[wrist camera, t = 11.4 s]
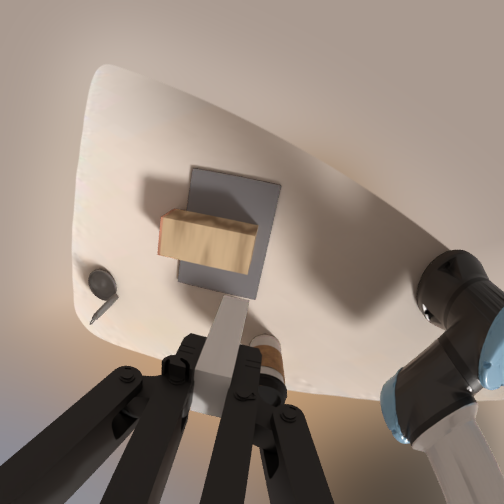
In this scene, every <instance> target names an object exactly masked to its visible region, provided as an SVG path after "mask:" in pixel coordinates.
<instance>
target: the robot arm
mask: <svg viewBox="0 0 504 504" xmlns="http://www.w3.org/2000/svg"><path fill="white" fill-rule="evenodd" d="M417 302H418V306H419V309H420V311H421V312H422V314H423V315H424V316H425V318H426V319H427V320H428V321H429V322H430V323H432V324H433V325H435V326H437V327H439V328H441V329H443V330H445V332H444V333H443V334H442V335H441V336H440V337H439V338H438V339H437V340H435V341H434V342H433V343H432V344H431V345H430V346H429V347H427V348H426V349H425V350H424V351H423V352H422V353H420V354H419V355H418V356H417V357H416V358H414V359H413V360H412V361H411V362H409V363H408V364H407V365H406V366H405V367H402V368H401V369H399V370H398V371H397V373H396V374H395V375H394V376H393V377H392V378H390V379H389V380H388V381H387V382H386V383H385V384H384V385H383V388H382V391H381V395H380V403H381V409H382V413H383V416H384V419H385V422H386V424H387V426H388V428H389V430H392V434H393V436H394V437H395V438H396V439H397V440H398V441H399V442H401V443H404V444H406V443H411V446H412V448H413V449H415V450H419V451H423V452H425V453H426V454H427V456H428V459H429V461H430V463H431V465H432V468H433V470H434V472H435V475H436V477H437V479H438V482H439V484H440V486H441V489H442V491H443V493H444V496H445V499H446V501H447V504H504V476H503V474H502V471H501V469H500V468H499V465H498V463H497V461H496V459H495V457H494V455H493V453H492V451H491V449H490V447H489V445H488V443H487V441H486V439H485V437H484V436H483V434H482V432H481V430H480V428H479V426H478V424H477V423H476V420H475V419H476V414H477V410H478V404H477V402H476V400H475V398H474V395H475V394H476V393H477V392H479V391H480V390H481V389H482V388H483V387H484V388H487V389H489V390H495V389H498V388H499V387H500V386H504V292H503V291H502V290H501V289H499V288H498V287H497V286H496V285H494V284H493V283H492V282H491V281H490V280H489V278H488V276H487V274H486V272H485V270H484V268H483V266H482V264H481V263H480V261H479V260H478V259H477V258H476V257H474V256H473V255H472V254H470V253H469V252H466V251H464V250H451V251H448V252H446V253H443V254H442V255H440V256H439V257H437V258H436V259H435V260H434V261H433V262H432V263H431V264H430V265H429V266H428V267H427V269H426V270H425V272H424V274H423V275H422V277H421V280H420V282H419V286H418V291H417ZM248 305H249V300H245V299H240V298H236V297H231V296H227V295H224V296H223V299H222V301H221V304H220V306H219V309H218V311H217V314H216V316H215V319H214V322H213V324H212V327H211V329H210V332H209V334H208V337H204V336H200V335H196V334H192V333H190V334H189V335H187V336H186V337H185V338H184V339H183V341H182V343H181V346H180V347H179V349H178V351H177V353H176V355H170V356H167V357H165V358H164V359H163V360H162V375H158V376H142V374H141V372H140V371H139V370H138V369H136V368H134V367H131V366H122V367H119V368H117V369H115V370H114V371H113V372H112V373H110V374H109V375H108V376H107V377H106V378H104V379H103V380H102V381H101V382H100V383H99V384H97V385H96V386H95V387H94V388H93V389H92V390H91V391H89V392H88V393H87V394H86V395H84V396H83V397H82V398H81V399H80V400H79V401H77V402H76V403H75V404H74V405H72V406H71V407H70V408H69V409H68V410H67V411H65V412H64V413H63V414H62V415H61V416H59V417H58V418H57V419H56V420H55V421H53V422H52V423H51V424H50V425H49V426H48V427H46V428H45V429H44V430H43V431H42V432H41V433H39V434H38V435H37V436H36V437H35V438H33V439H32V440H31V441H30V442H28V443H27V444H26V445H25V446H24V447H23V448H21V449H20V450H19V451H18V452H17V453H15V454H14V455H13V456H12V457H11V458H10V459H8V460H7V461H6V462H5V463H4V464H2V465H1V466H0V504H64V503H65V502H66V501H67V500H68V499H69V498H70V497H71V496H72V495H73V494H74V493H75V492H76V491H77V490H78V489H79V488H80V487H81V486H82V485H83V483H84V482H85V481H86V480H87V479H88V478H89V477H90V476H91V475H92V474H93V473H94V472H95V471H96V470H97V469H98V468H99V467H100V466H101V465H102V464H103V462H104V461H105V460H106V459H107V458H108V457H109V456H110V455H111V454H112V453H113V452H114V451H115V450H116V448H117V447H118V446H119V445H120V444H121V443H122V442H123V441H124V440H125V439H126V438H127V437H128V436H129V434H130V433H131V432H132V431H133V430H134V429H135V430H134V432H133V434H132V436H131V438H130V440H129V442H128V444H127V446H126V448H125V450H124V453H123V455H122V457H121V459H120V461H119V463H118V465H117V467H116V470H115V472H114V474H113V476H112V478H111V480H110V483H109V485H108V487H107V489H106V491H105V493H104V495H103V498H102V500H101V502H100V504H159V503H160V500H161V497H162V494H163V491H164V488H165V485H166V482H167V479H168V476H169V473H170V470H171V467H172V464H173V461H174V459H175V455H176V453H177V450H178V447H179V444H180V441H181V438H182V435H183V432H184V429H185V426H186V423H187V420H188V413H189V410H190V407H191V410H192V411H195V412H199V413H203V414H207V415H211V416H216V417H220V418H221V420H220V424H219V428H218V432H217V436H216V440H215V444H214V448H213V452H212V456H211V460H210V464H209V468H208V472H207V477H206V480H205V484H204V488H203V492H202V496H201V500H200V504H244V499H245V493H246V486H247V479H248V471H249V465H250V458H251V451H252V444H253V445H255V446H257V447H260V448H259V449H260V454H261V459H262V465H263V469H264V475H265V480H266V485H267V489H268V494H269V498H270V504H334V501H333V499H332V496H331V493H330V490H329V487H328V484H327V481H326V478H325V475H324V472H323V469H322V466H321V463H320V460H319V457H318V455H317V451H316V449H315V446H314V443H313V440H312V437H311V434H310V431H309V428H308V425H307V422H306V419H305V416H304V414H303V412H302V411H301V410H300V409H299V408H298V407H295V406H293V405H289V404H283V405H279V406H278V407H274V406H272V405H270V404H268V403H266V402H265V401H264V400H262V398H261V397H260V396H259V393H258V387H259V379H260V371H261V362H262V354H261V352H260V349H259V348H255V347H250V346H245V345H241V344H240V342H241V337H242V333H243V328H244V324H245V319H246V315H247V310H248Z"/></svg>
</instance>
